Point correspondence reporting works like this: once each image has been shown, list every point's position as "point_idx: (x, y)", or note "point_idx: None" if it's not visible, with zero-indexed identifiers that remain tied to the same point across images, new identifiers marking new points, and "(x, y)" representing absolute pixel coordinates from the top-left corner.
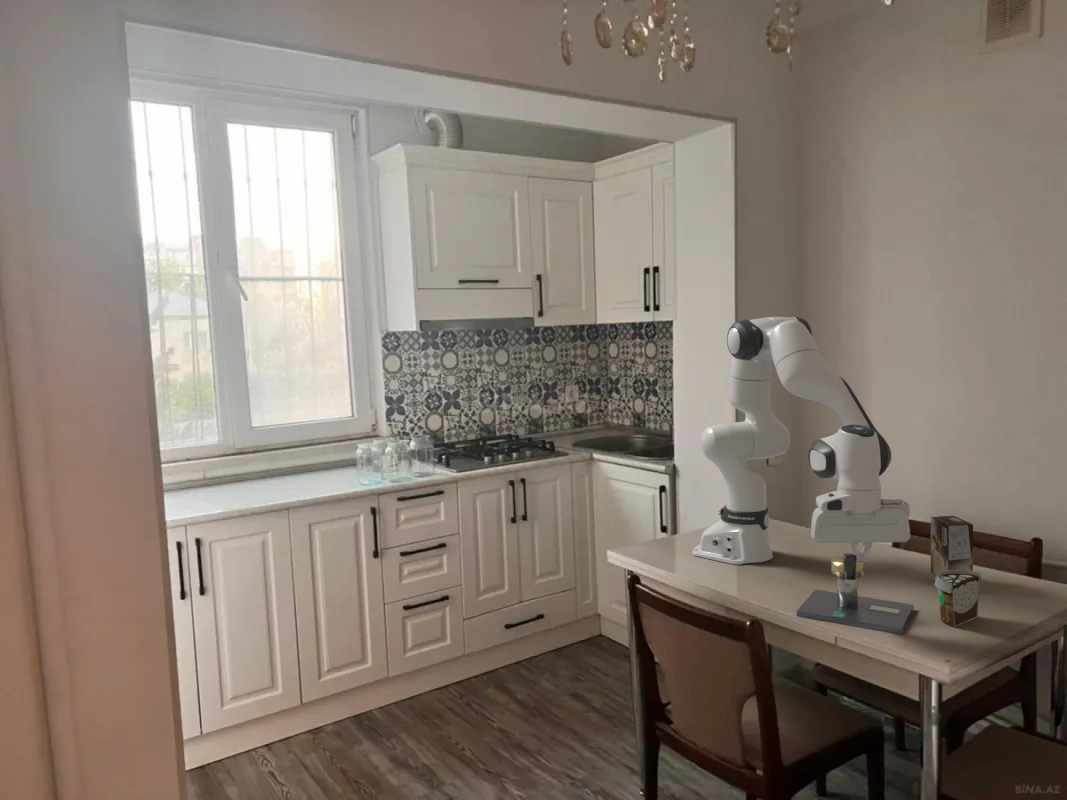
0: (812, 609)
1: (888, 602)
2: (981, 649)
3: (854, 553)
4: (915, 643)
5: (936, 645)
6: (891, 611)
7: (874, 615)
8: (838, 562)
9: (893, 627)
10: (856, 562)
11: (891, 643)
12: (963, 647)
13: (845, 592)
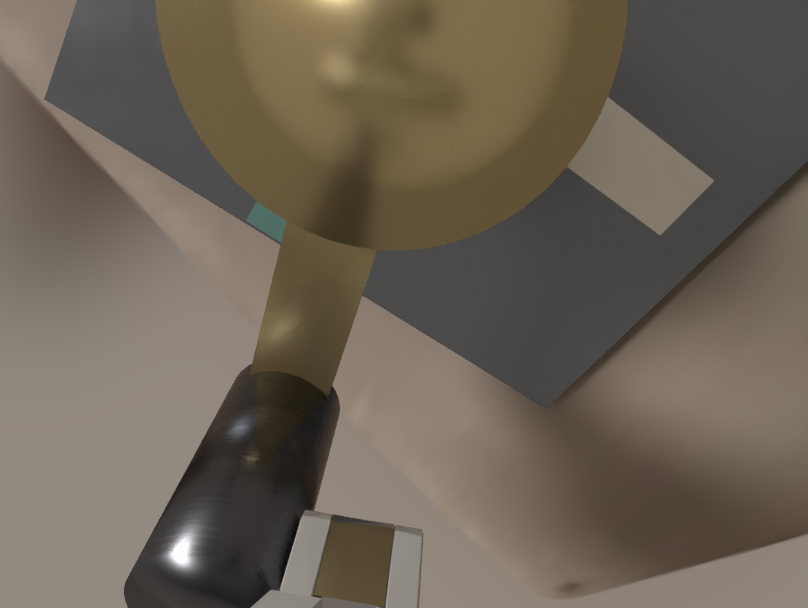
0: (148, 88)
1: (746, 2)
2: (767, 542)
3: (282, 585)
4: (546, 471)
5: (619, 495)
6: (638, 202)
7: (504, 234)
8: (238, 87)
9: (517, 389)
10: (484, 126)
11: (447, 459)
12: (713, 522)
13: None
